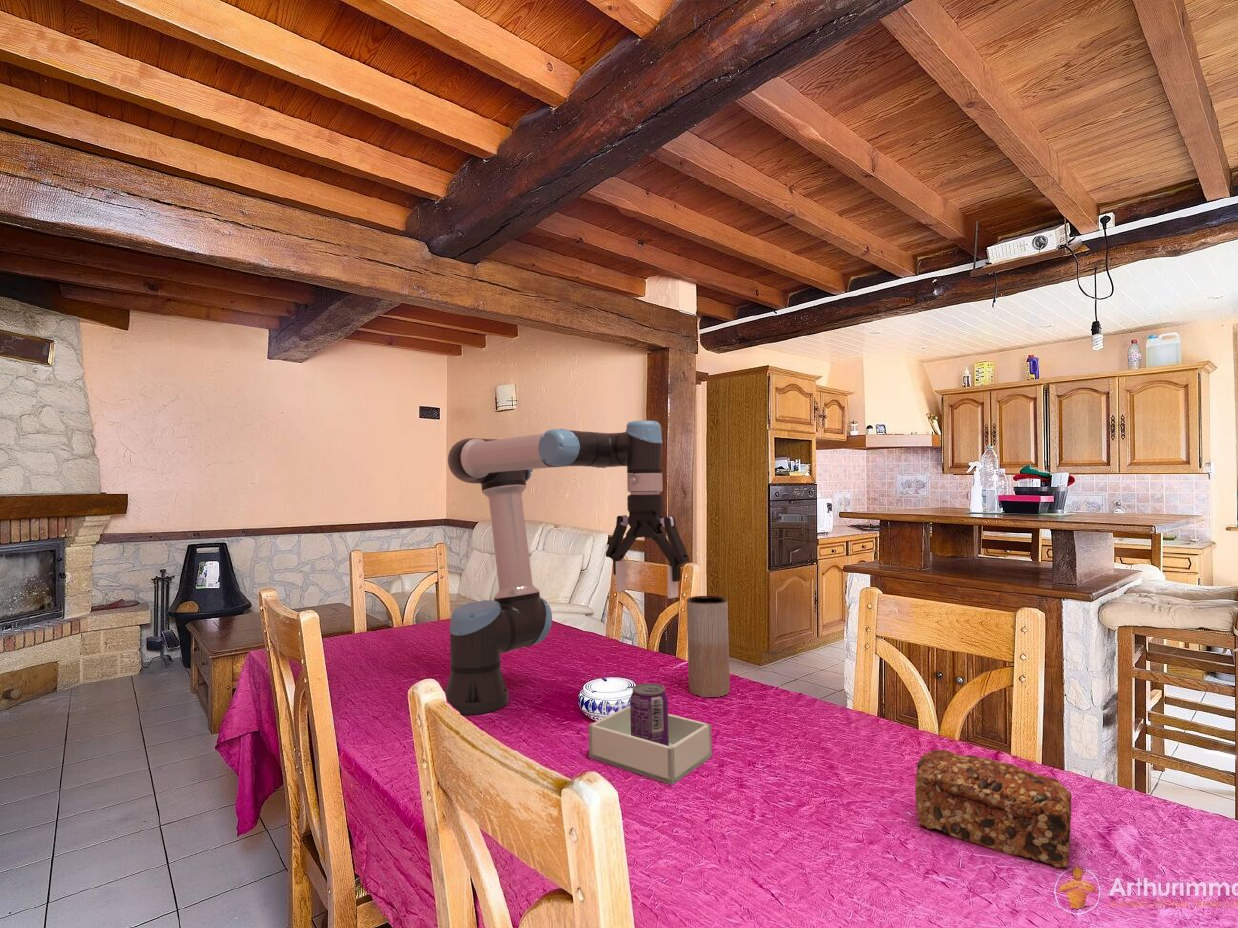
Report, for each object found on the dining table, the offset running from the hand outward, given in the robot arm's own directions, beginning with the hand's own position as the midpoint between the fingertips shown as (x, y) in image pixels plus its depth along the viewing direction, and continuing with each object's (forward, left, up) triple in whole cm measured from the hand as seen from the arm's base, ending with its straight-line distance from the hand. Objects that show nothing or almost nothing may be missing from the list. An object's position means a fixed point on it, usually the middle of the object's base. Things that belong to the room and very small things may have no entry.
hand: (646, 594), depth 131 cm
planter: (-1, +28, -28) cm, 40 cm away
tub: (+8, -11, -28) cm, 31 cm away
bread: (+63, -3, -29) cm, 69 cm away
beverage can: (+8, -11, -28) cm, 31 cm away
